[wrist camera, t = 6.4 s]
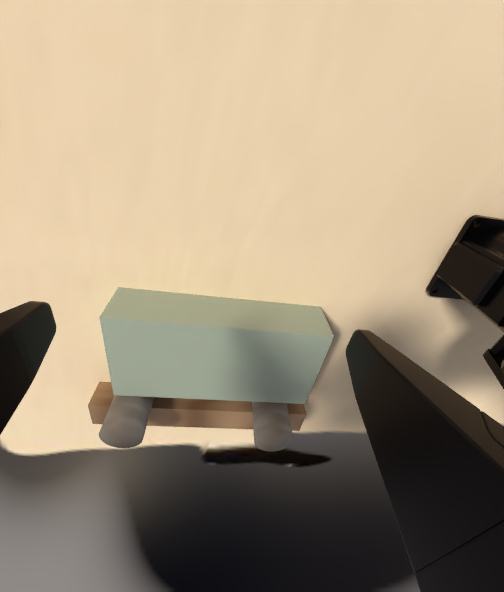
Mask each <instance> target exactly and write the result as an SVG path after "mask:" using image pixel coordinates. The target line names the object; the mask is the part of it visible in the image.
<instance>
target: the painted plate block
mask: <svg viewBox="0 0 504 592" xmlns="http://www.w3.org/2000/svg"><path fill="white" fill-rule="evenodd" d="M100 322H101V328H102V333H103V339H104V344H105V350H106V356H107V361H108V367H109V372H110V378H111V383H112V389H113V395H120V396H142V397H163V398H185V399H207V400H228V401H250V402H271V403H293V404H305V403H306V401H307V398H308V396H309V394H310V391H311V389H312V387H313V384H314V382H315V380H316V377H317V375H318V373H319V370H320V368H321V366H322V363H323V361H324V359H325V356H326V354H327V352H328V350H329V347H330V345H331V343H332V340H333V338H334V335H333V333H332V331H331V329H330V326H329V324H328V322H327V320H326V317H325V315H324V313H323V311H322V308H321V307H315V306H305V305H295V304H285V303H274V302H264V301H254V300H244V299H233V298H223V297H213V296H203V295H192V294H182V293H172V292H162V291H151V290H141V289H131V288H121V287H118V289H117V290H116V292H115V294H114V295H113V297H112V298H111V300H110V302H109V303H108V305H107V306H106V308H105V309H104V311H103V313H102V314H101V316H100Z"/></svg>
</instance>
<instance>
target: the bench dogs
mask: <svg viewBox="0 0 504 592" xmlns="http://www.w3.org/2000/svg"><path fill="white" fill-rule="evenodd" d="M88 407H89V411H90V415H91V419H92V423H93V424H103V425H102V427H101V430H100V432H99V437H100V439H101V440H102V441H103V442H104V443H106V444H108V445H110V446H113V447H118V448H130V447H134V446H137V445H139V444H140V443H141V442H142V440H143V437H144V433H145V429H146V426H174V427H203V428H233V429H254V442H255V446H256V447H257V448H259V449H261V450H264V451H278V450H282V449H284V448H286V447H288V446H289V445H291V443H292V441H293V436H292V430H293V431H299V430H300V428H301V425H302V423H303V421H304V419H305V416H306V411H305V407H304V404H293V403H271V402H250V401H228V400H207V399H185V398H163V397H142V396H120V395H113V389H112V383H104V382H99V384H98V386H97V388H96V390H95V392H94V394H93V396H92V398H91V400H90V402H89V404H88Z"/></svg>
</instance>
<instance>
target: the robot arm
mask: <svg viewBox="0 0 504 592" xmlns="http://www.w3.org/2000/svg"><path fill="white" fill-rule="evenodd" d="M476 221H477V222H476ZM475 222H476V223H475ZM474 223H475V224H474ZM435 288H436V289H435ZM434 289H435V290H434ZM426 290H427V292H428V293H429V294H430V295H431V296H436V297H445V298H454V299H463V300H466V301H467V302H468V303H469V304H471V305H472V306H473V307H474V308H476V309H477V310H478V311H479V312H480V313H482V314H483V315H484V316H485V317H487V318H488V319H489V320H490V321H491V322H493V323H494V324H495V325H496V326H498V327H499V328H500V329H501V330H502V331H504V219H498V218H492V217H486V216H480V215H474V216H472V217H470V218H469V219H468V220H467V222H466V223H465V225H464V227H463V228H462V230H461V232H460V233H459V235H458V237H457V238H456V240H455V242H454V243H453V245H452V247H451V248H450V250H449V252H448V253H447V255H446V257H445V258H444V260H443V262H442V263H441V265H440V267H439V269H438V270H437V272H436V274H435V275H434V277H433V279H432V280H431V282H430V284H429V285H428V287H427V289H426ZM55 332H56V323H55V320H54V317H53V313H52V310H51V307H50V305H49V304H48V303H46V302H37V301H30V302H27V303H24V304H22V305H19V306H17V307H15V308H12V309H10V310H7V311H5V312H2V313H0V434H1V433H2V431H3V430H4V428H5V426H6V425H7V423H8V421H9V420H10V418H11V416H12V415H13V413H14V412H15V410H16V408H17V407H18V405H19V403H20V402H21V400H22V399H23V397H24V395H25V394H26V392H27V390H28V389H29V387H30V385H31V383H32V382H33V380H34V378H35V376H36V374H37V372H38V369H39V367H40V365H41V363H42V361H43V359H44V357H45V354H46V352H47V350H48V348H49V346H50V344H51V342H52V339H53V337H54V335H55ZM346 357H347V362H348V366H349V371H350V375H351V380H352V384H353V389H354V393H355V397H356V400H357V404H358V407H359V410H360V413H361V416H362V419H363V422H364V425H365V428H366V430H367V433H368V436H369V439H370V442H371V445H372V448H373V451H374V454H375V457H376V460H377V463H378V466H379V469H380V472H381V475H382V478H383V481H384V484H385V487H386V490H387V493H388V496H389V499H390V502H391V505H392V508H393V511H394V514H395V516H396V519H397V522H398V526H399V529H400V531H401V534H402V537H403V540H404V543H405V546H406V549H407V552H408V555H409V558H410V561H411V564H412V567H413V570H414V572H415V577H416V580H417V583H418V586H419V588H420V592H504V426H502V425H501V424H499V423H498V422H497V421H495V420H494V419H492V418H491V417H490V416H488V415H487V414H486V413H484V412H482V411H480V409H478V408H477V407H476V406H474V405H473V404H471V403H470V402H469V401H467V400H466V399H464V398H463V397H462V396H460V395H459V394H457V393H456V392H455V391H453V390H452V389H450V388H449V387H448V386H446V385H445V384H443V383H442V382H441V381H439V380H438V379H436V378H435V377H434V376H432V375H431V374H430V373H428V372H427V371H425V370H424V369H423V368H421V367H420V366H418V365H417V364H416V363H414V362H413V361H411V360H410V359H409V358H407V357H406V356H404V355H403V354H402V353H400V352H399V351H397V350H396V349H395V348H393V347H392V346H390V345H389V344H388V343H386V342H385V341H383V340H382V339H381V338H379V337H378V336H376V335H375V334H374V333H372V332H371V331H369V330H360V329H358V330H356V331H355V332H354V333H353V335H352V337H351V339H350V342H349V344H348V346H347V348H346ZM483 357H484V358H485V360H486V362H487V363H488V365H489V366H490V368H491V370H492V371H493V373H494V374H495V376H496V378H497V379H498V381H499V382H500V384H501V385H502V387H503V389H504V335H503V336H502V337H501V338H500V339H499V340H498V341H497V342H496V343H495V345H494V346H493V347H492V348H491V349H488V350H487V351H486V352H485V353H484V354H483Z"/></svg>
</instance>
